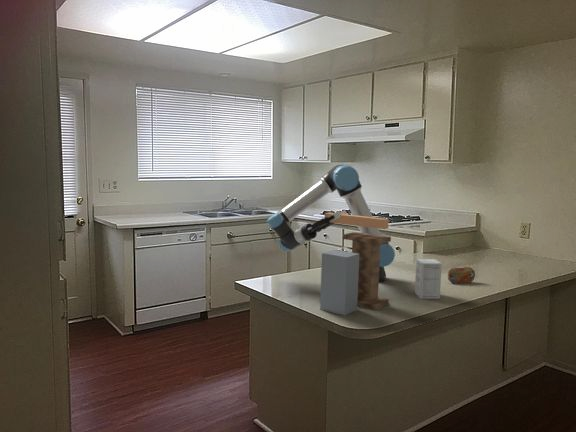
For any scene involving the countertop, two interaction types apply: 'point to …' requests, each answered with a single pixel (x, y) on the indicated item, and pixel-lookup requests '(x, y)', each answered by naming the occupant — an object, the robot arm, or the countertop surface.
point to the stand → (368, 267)
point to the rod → (361, 221)
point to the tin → (461, 275)
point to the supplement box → (428, 278)
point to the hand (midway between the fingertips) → (343, 213)
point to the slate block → (339, 282)
